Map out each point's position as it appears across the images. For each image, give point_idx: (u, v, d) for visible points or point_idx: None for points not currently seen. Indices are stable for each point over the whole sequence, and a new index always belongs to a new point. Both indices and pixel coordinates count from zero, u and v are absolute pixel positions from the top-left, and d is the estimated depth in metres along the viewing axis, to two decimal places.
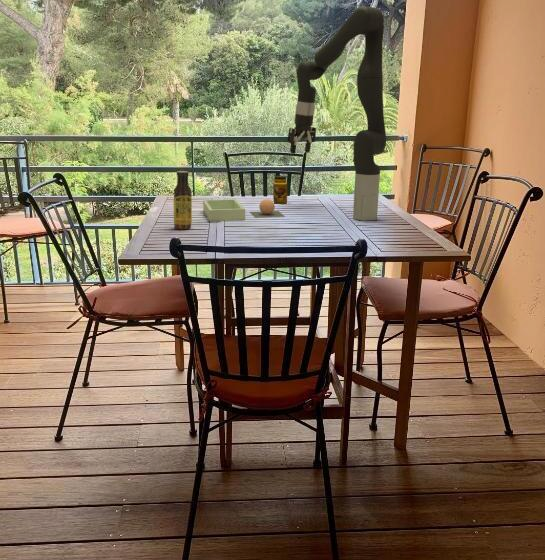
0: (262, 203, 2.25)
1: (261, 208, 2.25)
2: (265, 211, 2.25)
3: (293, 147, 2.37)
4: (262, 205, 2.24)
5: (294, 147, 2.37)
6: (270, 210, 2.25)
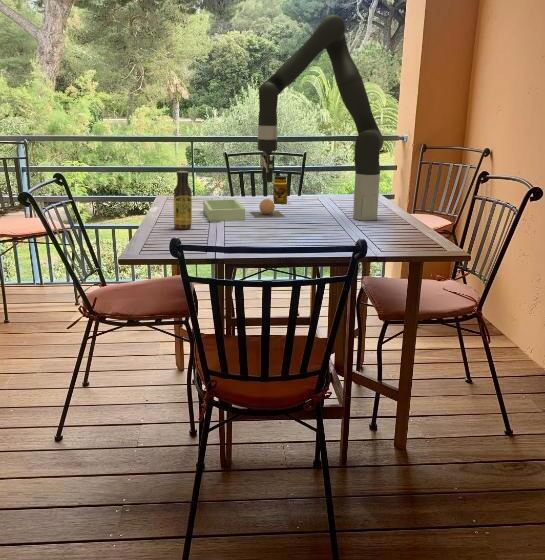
0: (262, 203, 2.25)
1: (261, 208, 2.25)
2: (265, 211, 2.25)
3: (271, 175, 2.19)
4: (262, 205, 2.24)
5: (271, 175, 2.19)
6: (270, 210, 2.25)
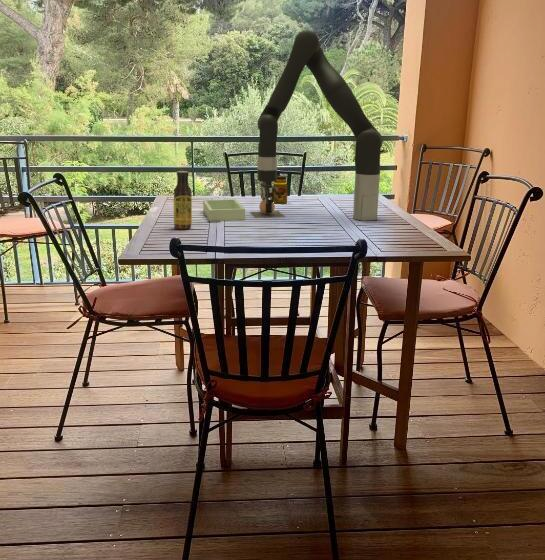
0: (262, 203, 2.25)
1: (261, 208, 2.25)
2: (265, 211, 2.25)
3: (270, 206, 2.23)
4: (262, 205, 2.24)
5: (271, 206, 2.23)
6: None
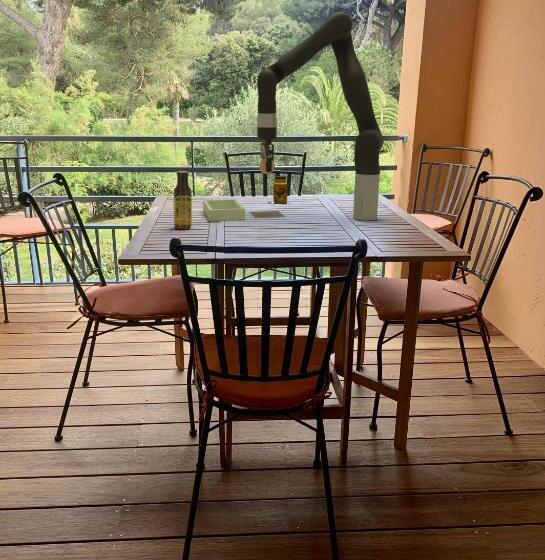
0: (262, 162, 2.20)
1: (261, 167, 2.20)
2: (265, 170, 2.20)
3: (270, 165, 2.18)
4: (262, 164, 2.20)
5: (271, 164, 2.19)
6: None
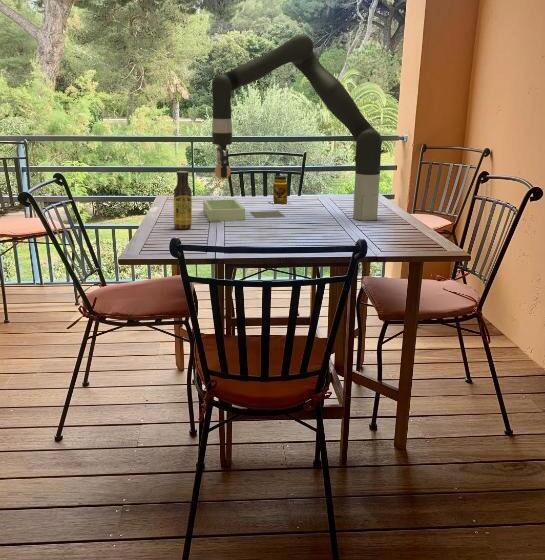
0: (217, 167, 2.19)
1: (216, 172, 2.19)
2: (220, 175, 2.19)
3: (225, 170, 2.17)
4: (217, 169, 2.19)
5: (226, 170, 2.18)
6: None
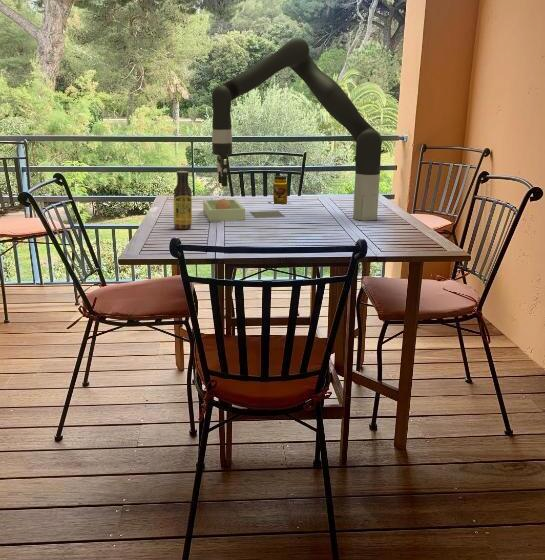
0: (218, 203, 2.23)
1: (217, 208, 2.23)
2: None
3: (226, 179, 2.17)
4: (218, 205, 2.23)
5: (226, 179, 2.18)
6: None
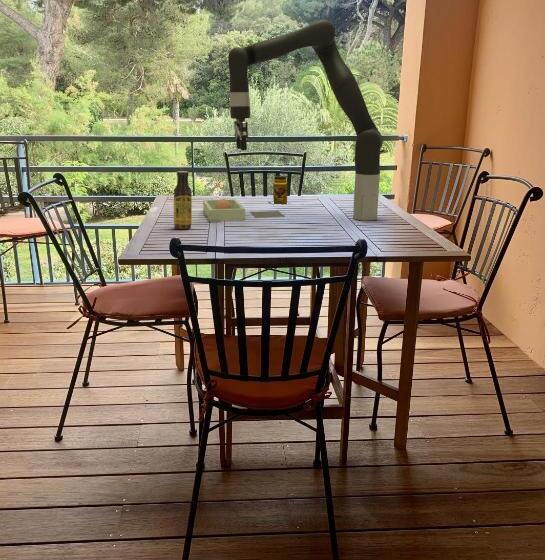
0: (218, 203, 2.23)
1: (217, 208, 2.23)
2: None
3: (245, 143, 2.15)
4: (218, 205, 2.23)
5: (246, 142, 2.16)
6: None
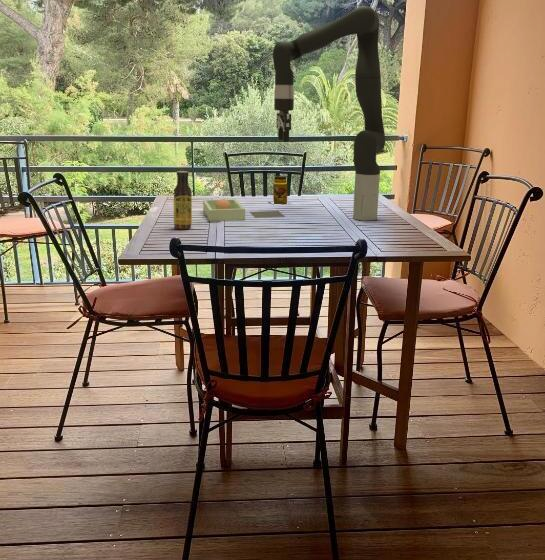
0: (218, 203, 2.23)
1: (217, 208, 2.23)
2: None
3: (288, 134, 2.22)
4: (218, 205, 2.23)
5: (288, 134, 2.23)
6: None
